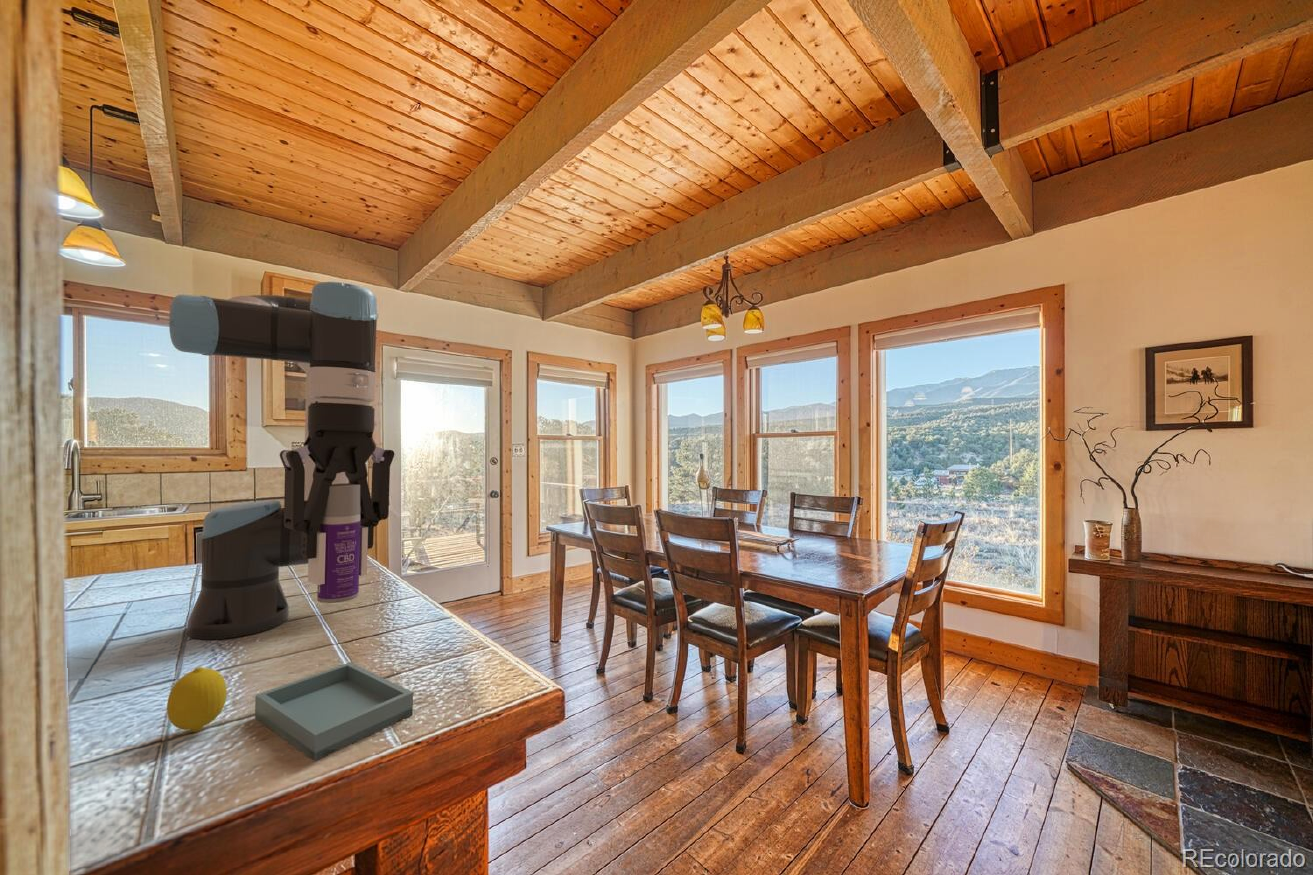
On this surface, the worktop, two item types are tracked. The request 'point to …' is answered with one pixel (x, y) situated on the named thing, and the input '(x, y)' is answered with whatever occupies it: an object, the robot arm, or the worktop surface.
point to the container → (341, 544)
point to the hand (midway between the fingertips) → (338, 577)
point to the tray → (332, 709)
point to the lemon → (196, 699)
